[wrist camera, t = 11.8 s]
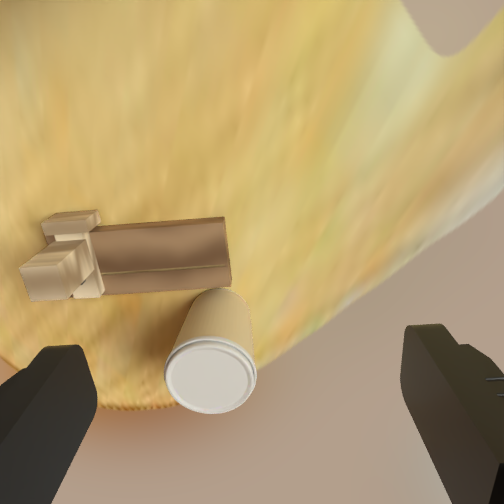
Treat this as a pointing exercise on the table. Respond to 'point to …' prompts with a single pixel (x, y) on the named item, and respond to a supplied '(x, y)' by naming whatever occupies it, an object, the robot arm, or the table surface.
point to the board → (161, 255)
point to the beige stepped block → (65, 260)
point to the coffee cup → (213, 354)
